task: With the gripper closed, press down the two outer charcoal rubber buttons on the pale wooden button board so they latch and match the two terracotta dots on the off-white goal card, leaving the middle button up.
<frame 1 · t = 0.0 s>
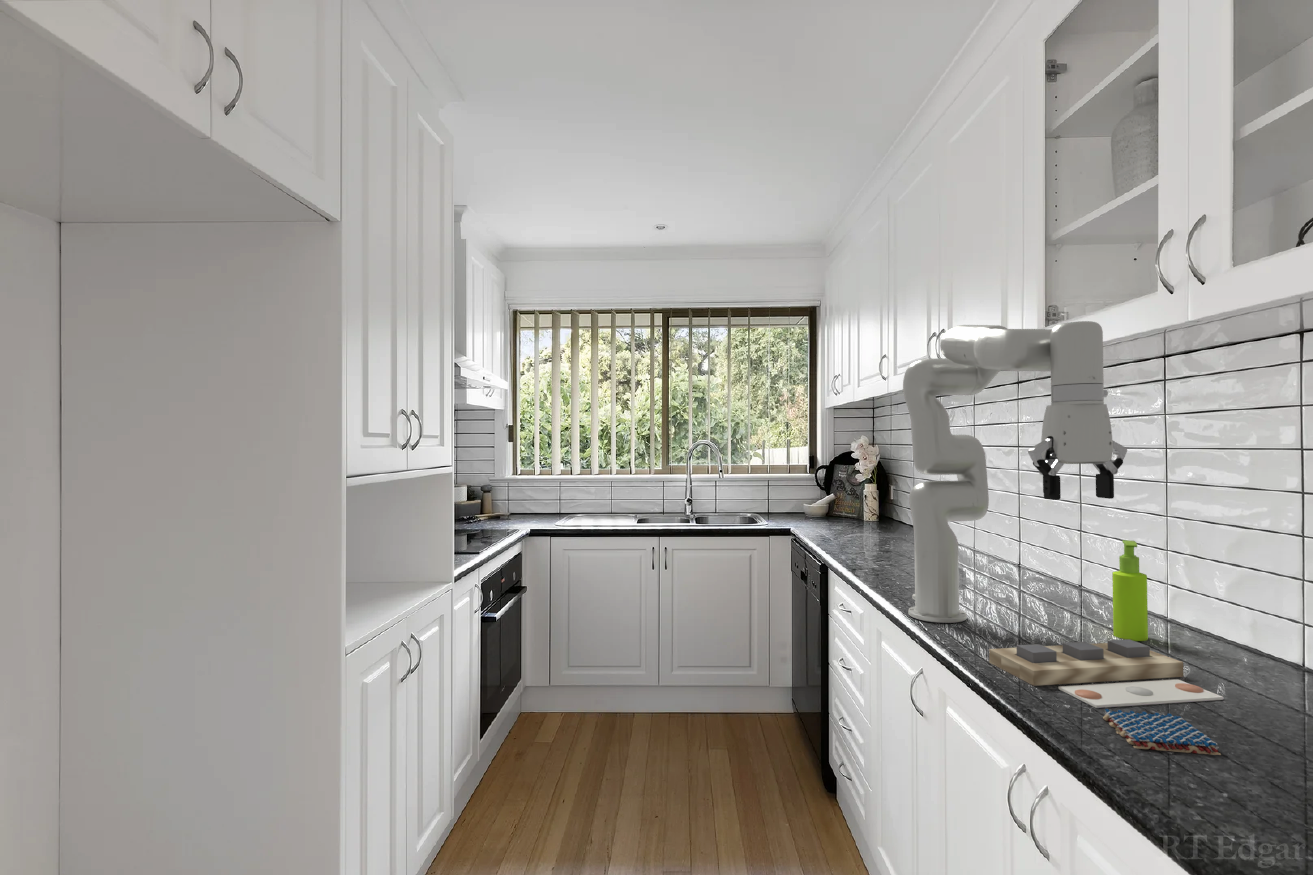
hand: (1078, 498, 113), 31 cm above the countertop, tool pointing down, fingers open, 9 cm apart
goal card: (1139, 694, 108), on the countertop
button 2: (1082, 652, 120), point 3 cm above the countertop, slide at 0.0 cm
button board: (1083, 669, 120), on the countertop
button 3: (1128, 650, 121), point 3 cm above the countertop, slide at 0.0 cm
soap dispenser: (1130, 638, 139), on the countertop
woven mat: (1158, 741, 93), on the countertop
button 1: (1036, 655, 119), point 3 cm above the countertop, slide at 0.0 cm
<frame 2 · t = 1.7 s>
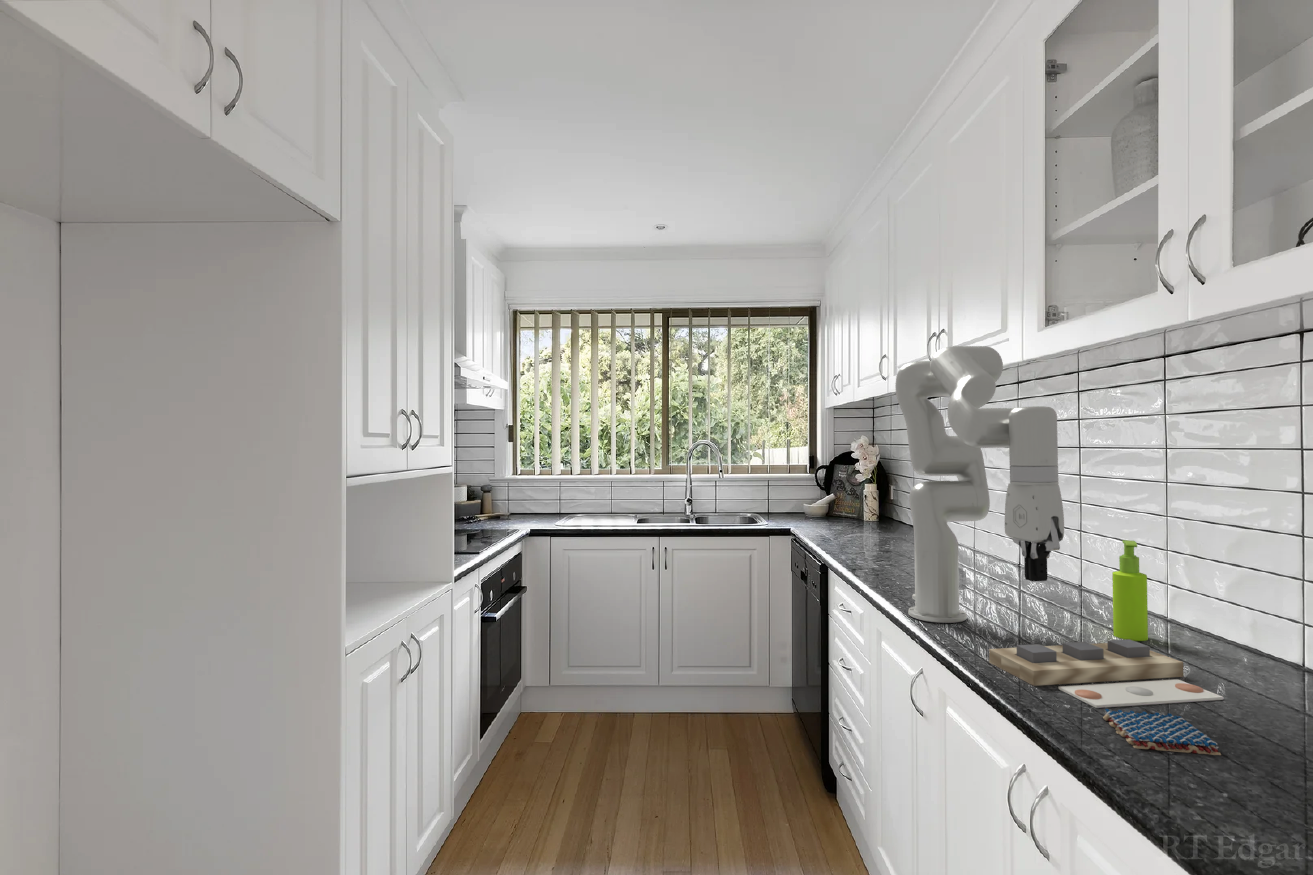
hand: (1036, 579, 119), 16 cm above the countertop, tool pointing down, fingers closed
nothing on the countertop moved.
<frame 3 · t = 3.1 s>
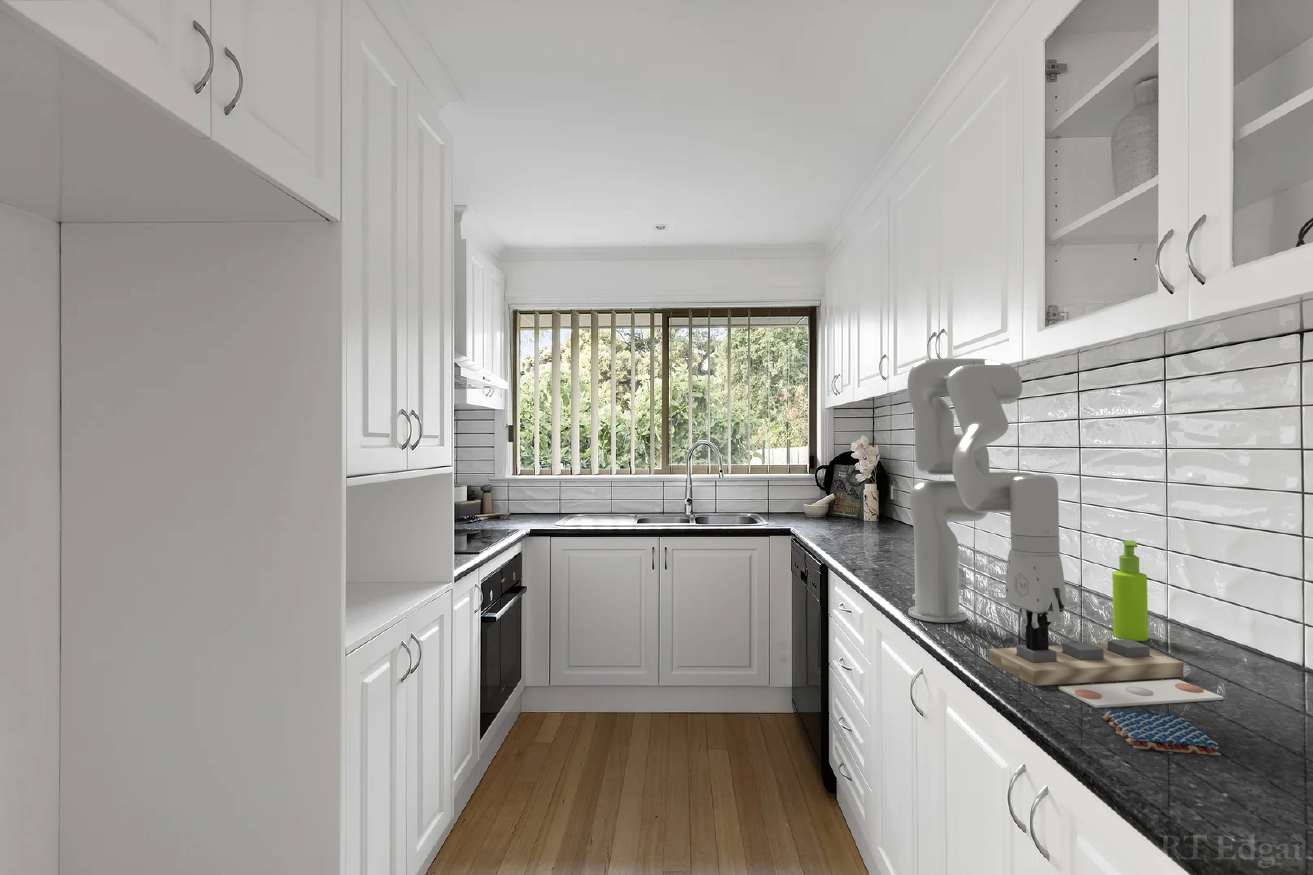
hand: (1037, 648, 119), 4 cm above the countertop, tool pointing down, fingers closed
button 1: (1036, 655, 119), point 3 cm above the countertop, slide at 0.0 cm, touching gripper
everything else where it was.
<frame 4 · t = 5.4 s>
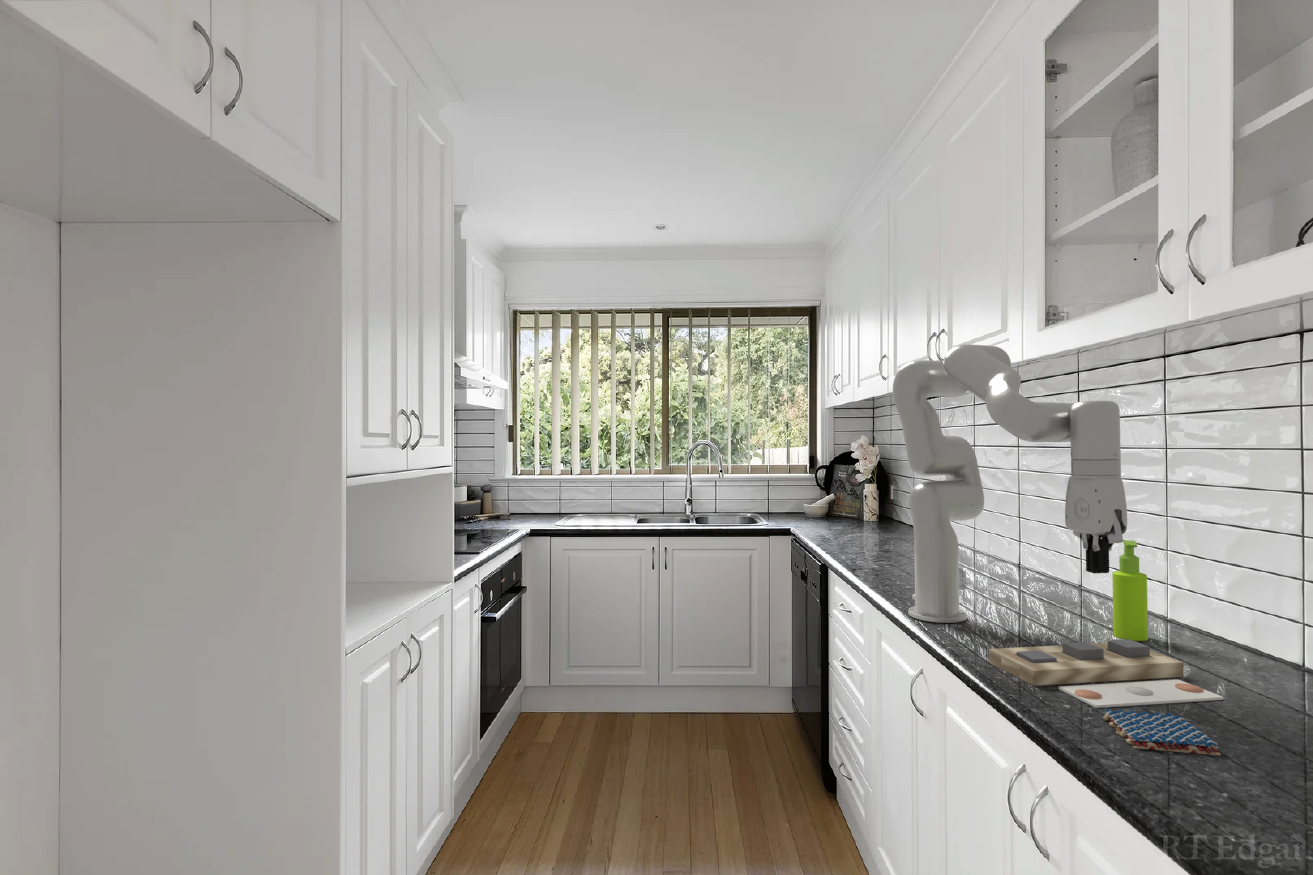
hand: (1097, 572, 121), 17 cm above the countertop, tool pointing down, fingers closed
button 1: (1036, 661, 119), point 2 cm above the countertop, slide at 1.1 cm
everything else where it was.
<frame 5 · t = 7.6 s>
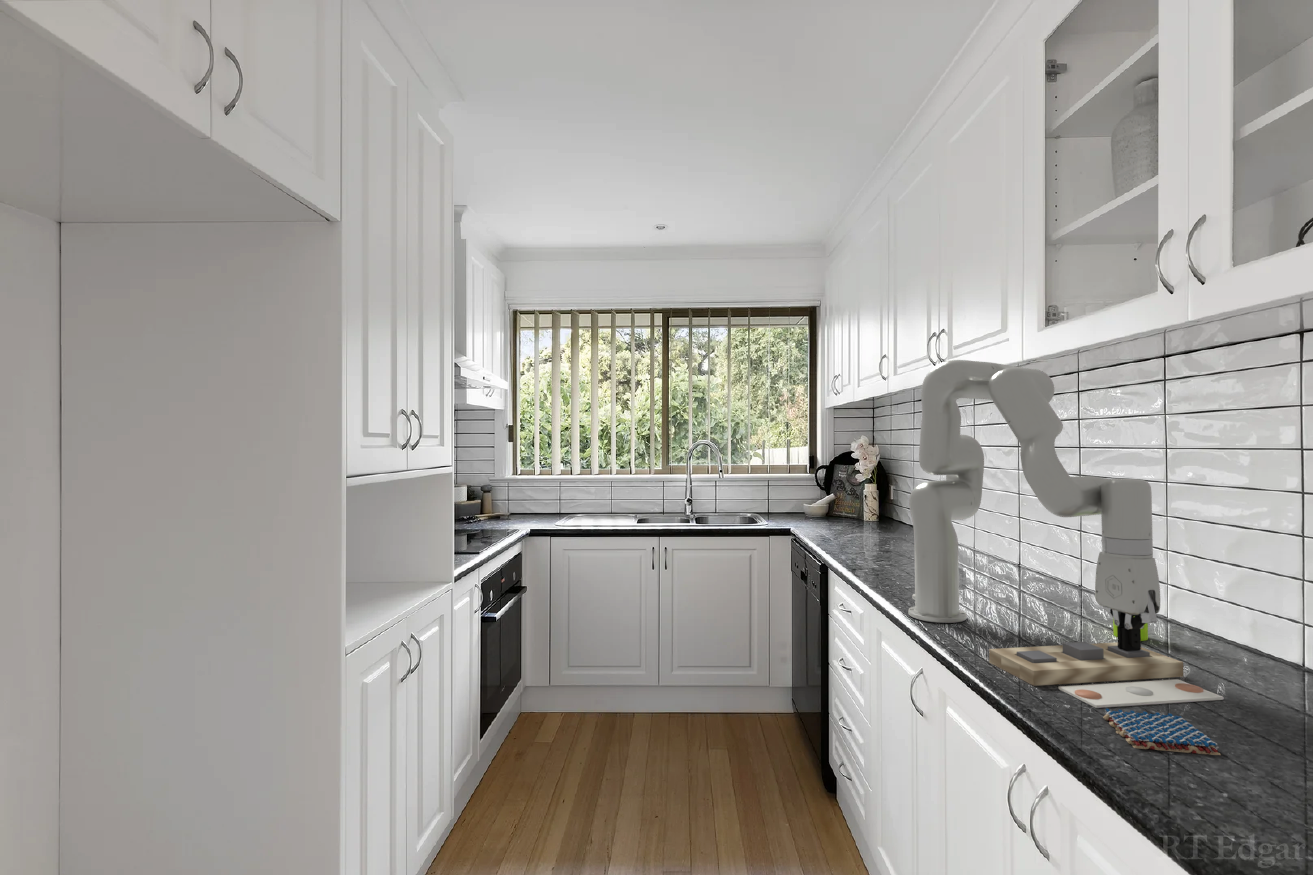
hand: (1129, 649, 121), 3 cm above the countertop, tool pointing down, fingers closed
button 3: (1128, 656, 121), point 2 cm above the countertop, slide at 1.1 cm, touching gripper
everything else where it was.
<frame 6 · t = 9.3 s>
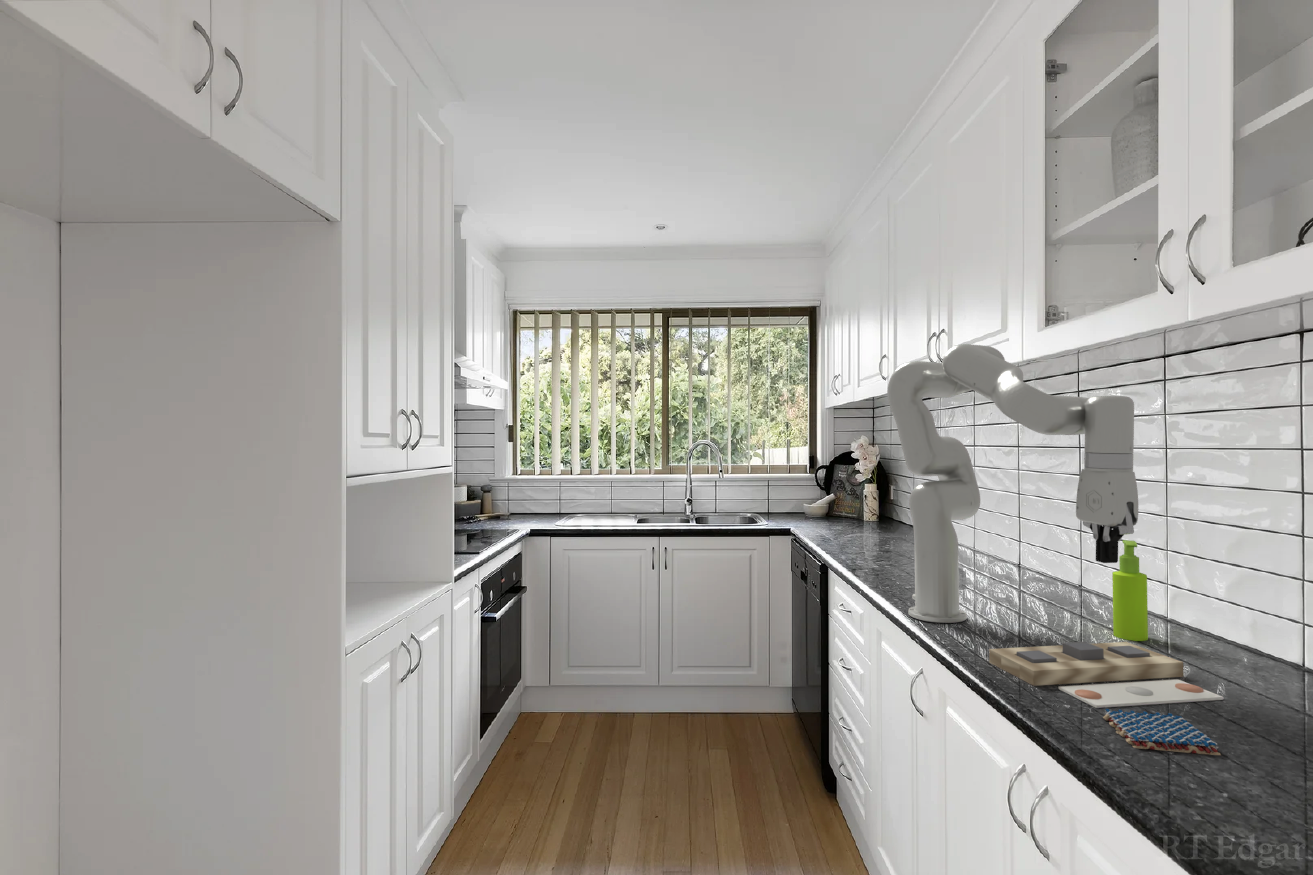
hand: (1106, 561, 125), 18 cm above the countertop, tool pointing down, fingers closed
button 3: (1128, 656, 121), point 2 cm above the countertop, slide at 1.1 cm
everything else where it was.
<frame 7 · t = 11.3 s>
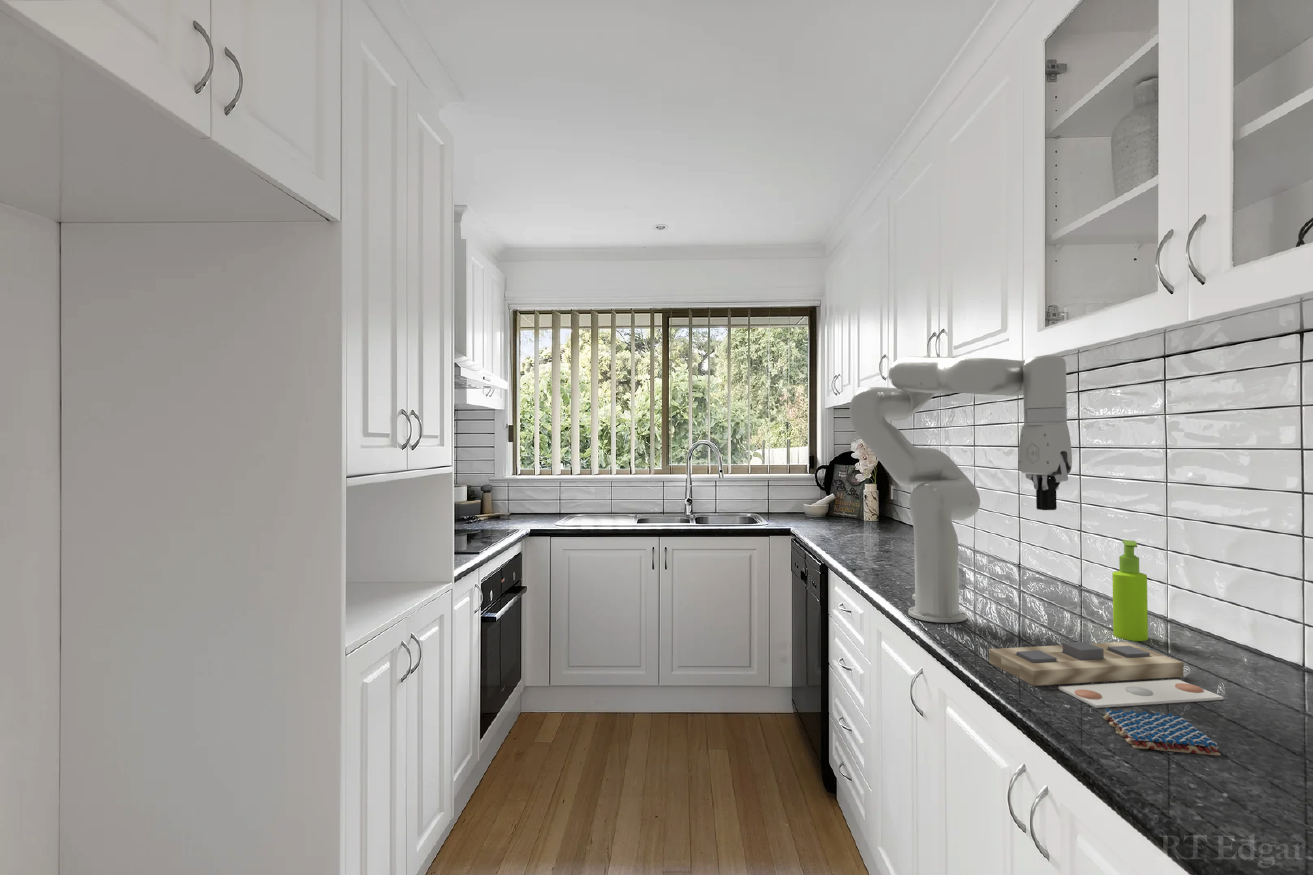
hand: (1046, 509, 135), 27 cm above the countertop, tool pointing down, fingers closed
nothing on the countertop moved.
at the end: button 1 slide at 1.1 cm; button 3 slide at 1.1 cm; button 2 slide at 0.0 cm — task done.
